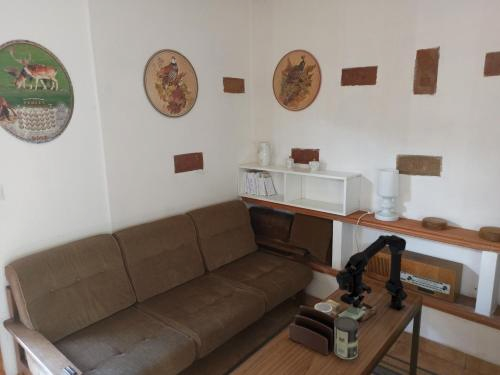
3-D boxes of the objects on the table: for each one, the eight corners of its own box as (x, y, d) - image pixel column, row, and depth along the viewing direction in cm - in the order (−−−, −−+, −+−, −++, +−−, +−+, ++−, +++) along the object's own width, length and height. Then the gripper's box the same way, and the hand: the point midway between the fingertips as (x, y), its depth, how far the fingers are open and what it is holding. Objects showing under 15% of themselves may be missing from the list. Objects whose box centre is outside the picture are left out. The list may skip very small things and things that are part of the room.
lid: (353, 307, 185) (353, 300, 184) (365, 313, 179) (366, 306, 178) (338, 316, 177) (338, 309, 176) (350, 323, 172) (351, 315, 171)
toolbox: (361, 306, 192) (361, 298, 191) (377, 313, 185) (377, 305, 184) (348, 314, 184) (348, 307, 184) (363, 322, 177) (364, 314, 177)
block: (329, 307, 192) (329, 299, 191) (340, 312, 187) (340, 304, 186) (324, 309, 189) (324, 302, 188) (335, 315, 184) (335, 307, 183)
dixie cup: (314, 320, 181) (314, 302, 178) (331, 320, 179) (331, 302, 177) (314, 329, 172) (314, 311, 170) (332, 331, 171) (332, 312, 169)
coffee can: (356, 345, 160) (357, 317, 157) (359, 361, 150) (360, 331, 147) (333, 343, 162) (333, 315, 159) (333, 358, 153) (334, 329, 150)
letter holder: (300, 328, 174) (300, 302, 171) (337, 344, 162) (338, 316, 159) (289, 338, 167) (288, 311, 164) (327, 356, 154) (327, 327, 151)
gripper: (353, 269, 188) (353, 296, 191) (331, 281, 177) (330, 309, 180) (372, 277, 180) (371, 305, 183) (350, 289, 168) (349, 319, 172)
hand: (355, 309), depth 180 cm, fingers closed
